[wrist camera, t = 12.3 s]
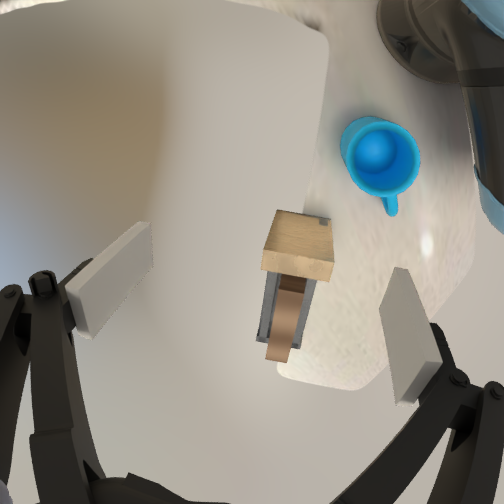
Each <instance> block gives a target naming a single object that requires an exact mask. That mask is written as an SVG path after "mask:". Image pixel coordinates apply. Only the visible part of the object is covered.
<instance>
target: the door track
mask: <svg viewBox="0 0 504 504" xmlns="http://www.w3.org/2000/svg"><path fill="white" fill-rule="evenodd" d="M333 266H334V251H333V239H332V229H331V219H327V218H322V217H316V216H311V215H305V214H300V213H294V212H289V211H283V210H277V211H276V214H275V217H274V220H273V223H272V226H271V229H270V232H269V235H268V238H267V241H266V243H265V246H264V249H263V256H262V264H261V270H266V271H268V273H267V280H266V286H265V292H264V299H263V305H262V312H261V318H260V324H259V329H258V333H257V337H256V341H258V342H263V343H269V337H270V332H271V327H272V322H273V317H274V311H275V306H276V301H277V295H278V290H279V285H280V280H281V275H282V274H287V275H293V276H298V277H304V278H306V281H305V292H304V298H303V302H302V306H301V310H300V314H299V318H298V322H297V326H296V330H295V334H294V337H293V341H292V345H291V348H295V349H300V347H301V343H302V334H303V331H304V327H305V324H306V320H307V316H308V313H309V309H310V305H311V301H312V297H313V294H314V290H315V286H316V282H317V280H320V281H326V282H329V281H330V277H331V274H332V270H333Z"/></svg>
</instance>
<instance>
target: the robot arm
mask: <svg viewBox="0 0 504 504" xmlns="http://www.w3.org/2000/svg"><path fill="white" fill-rule="evenodd" d="M377 24H378V29H379V32H380V35H381V37H382V40H383V42H384V44H385V46H386V47H387V49H388V50H389V52H390V53H391V54H392V56H393V57H394V58H395V59H396V60H397V61H398V62H399V63H400V64H401V65H402V66H403V67H404V68H405V69H407V70H408V71H409V72H411V73H412V74H414V75H416V76H418V77H420V78H422V79H424V80H427V81H430V82H434V83H442V84H448V83H459V82H460V85H461V90H462V94H463V98H464V103H465V107H466V112H467V117H468V122H469V128H470V133H471V139H472V146H473V152H474V160H475V164H474V173H475V176H476V179H477V181H478V186H479V194H480V202H481V206H482V209H483V211H484V213H485V214H486V215H487V218H488V219H489V221H490V222H491V224H492V225H493V226H494V227H495V228H496V229H497V230H499V231H500V232H501V233H502V234H504V0H380V1H379V4H378V8H377ZM152 267H153V255H152V236H151V223H148V222H142V221H138V222H137V223H136V224H135V225H134V226H132V227H131V228H130V229H129V230H128V231H126V232H125V233H124V234H123V235H121V236H120V237H119V238H118V239H117V240H115V241H114V242H113V243H112V244H111V245H110V246H108V247H107V248H106V249H105V250H104V251H103V252H101V253H100V254H99V255H98V256H97V257H96V258H95V259H93V258H90V259H88V260H86V261H84V262H82V263H81V264H80V265H79V266H78V267H77V268H76V269H74V270H73V271H72V272H71V273H70V274H69V275H68V276H66V277H65V278H64V279H63V280H62V281H61V282H60V283H59V284H57V281H56V277H55V274H54V273H53V272H52V271H48V270H46V271H45V270H44V271H40V272H37V273H35V274H33V275H32V276H31V277H30V278H29V280H28V283H29V286H30V289H31V292H32V295H28V294H23V291H22V288H21V286H19V285H16V284H13V285H8V286H6V287H4V288H3V289H2V290H1V291H0V504H13V503H12V499H11V497H10V496H9V491H8V489H7V483H8V478H9V474H10V468H11V461H12V452H13V444H14V437H15V430H16V424H17V418H18V412H19V407H20V402H21V397H22V392H23V388H24V384H25V379H26V375H27V371H28V367H29V363H30V371H31V394H32V409H33V419H34V429H35V430H34V431H35V432H34V434H31V435H30V437H29V443H30V451H31V457H32V464H33V470H34V475H35V481H36V485H37V490H38V495H39V499H40V502H39V503H37V504H229V503H218V502H193V501H188V500H185V499H183V498H182V497H180V496H178V495H176V494H174V493H173V492H171V491H170V490H168V489H166V488H165V487H163V486H161V485H160V484H158V483H155V482H153V481H150V480H147V479H144V478H142V477H139V476H136V475H134V474H131V473H128V475H127V477H126V478H119V477H111V478H106V476H105V473H104V472H103V469H102V468H101V465H100V463H99V460H98V457H97V454H96V450H95V447H94V443H93V439H92V435H91V431H90V427H89V424H88V419H87V415H86V410H85V405H84V401H83V397H82V391H81V385H80V380H79V374H78V368H77V361H76V354H75V347H74V339H73V334H72V330H73V329H74V327H75V326H76V327H77V331H78V334H79V336H82V337H84V338H87V339H90V340H93V339H94V337H95V336H96V335H97V334H98V332H99V331H100V330H101V329H102V327H103V326H104V325H105V323H106V322H107V321H108V320H109V319H110V317H111V316H112V315H113V314H114V312H115V311H116V310H117V309H118V307H119V306H120V305H121V304H122V302H123V301H124V300H125V299H126V298H127V296H128V295H129V294H130V293H131V292H132V290H133V289H134V288H135V287H136V286H137V285H138V283H139V282H140V281H141V280H142V279H143V277H144V276H145V275H146V274H147V273H148V272H149V270H150V269H151V268H152ZM379 311H380V316H381V321H382V326H383V331H384V336H385V341H386V347H387V352H388V358H389V364H390V369H391V376H392V382H393V389H394V396H395V404H396V406H408V407H412V405H413V404H414V403H415V401H416V400H417V399H418V400H419V405H420V406H419V407H418V408H417V410H416V411H415V412H414V413H413V415H412V416H411V417H410V418H409V420H408V421H407V423H406V424H405V425H404V426H403V428H402V429H401V430H400V431H399V432H398V434H397V435H396V436H395V437H394V438H393V440H392V441H391V442H390V443H389V444H388V445H387V446H386V448H385V449H384V450H383V451H382V452H381V453H380V454H379V456H378V457H377V458H376V459H375V460H374V461H373V462H372V463H371V464H370V465H369V466H368V467H367V468H366V469H365V470H364V471H363V472H362V473H361V474H360V475H359V476H358V477H357V478H356V479H355V481H353V482H352V483H351V484H350V485H349V486H348V487H347V488H346V489H345V490H344V491H343V492H342V493H341V494H340V495H339V496H337V497H336V498H335V499H334V500H333V501H332V502H331V503H330V504H393V503H394V502H395V501H396V500H397V498H398V497H399V496H400V495H401V493H402V492H403V491H404V490H405V489H406V487H407V486H408V485H409V483H410V482H411V481H412V479H413V478H414V477H415V476H416V474H417V473H418V472H419V470H420V469H421V467H422V466H423V465H424V463H425V462H426V460H427V459H428V457H429V456H430V454H431V453H432V451H433V450H434V448H435V447H436V445H437V444H438V442H439V441H440V439H441V438H442V436H443V434H444V433H445V431H446V429H447V428H451V429H452V431H451V435H450V438H449V441H448V445H447V448H446V452H445V455H444V458H443V461H442V464H441V467H440V470H439V473H438V476H437V479H436V481H435V484H434V487H433V489H432V492H431V495H430V497H429V499H428V502H427V504H493V501H494V497H495V492H496V488H497V483H498V478H499V473H500V468H501V462H502V455H503V448H504V387H503V386H502V385H501V384H500V383H498V382H494V381H490V382H488V383H487V384H486V385H485V386H484V388H481V387H478V386H475V385H473V384H470V380H469V378H468V376H467V375H466V374H465V373H464V372H463V371H462V370H460V369H458V368H456V366H455V363H454V360H453V357H452V354H451V351H450V348H449V347H448V343H447V341H446V338H445V336H444V333H443V331H442V330H441V328H440V327H439V326H438V325H437V324H436V323H429V321H428V318H427V316H426V313H425V310H424V308H423V305H422V303H421V300H420V298H419V295H418V293H417V290H416V288H415V285H414V283H413V280H412V278H411V276H410V273H409V271H408V269H403V268H398V267H395V268H394V271H393V274H392V276H391V279H390V282H389V284H388V287H387V290H386V292H385V295H384V298H383V300H382V303H381V305H380V308H379Z"/></svg>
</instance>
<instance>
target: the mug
mask: <svg viewBox="0 0 504 504" xmlns="http://www.w3.org/2000/svg"><path fill="white" fill-rule="evenodd" d="M340 149H341V156H342V158H343V160H344V162H345V165H346V167H347V169H348V171H349V173H350V176H351V178H352V180H353V181H354V182H355V183H356V184H357V186H358V187H359V188H360V189H361V190H363V191H365V192H367V193H368V194H370V195H374V196H378V197H381V199H382V202H383V205H384V208H385V210H386V213H387V214H388V215H389V216H391V217H392V216H395V215H396V214H397V212H398V201H397V194H399V193H402V192H404V191H405V190H406V189H407V188H408V187H409V186H411V185H412V183H413V182H414V180H415V178H416V177H417V175H418V171H419V167H420V151H419V149H418V146H417V144H416V141H415V139H414V138H413V137H412V136H411V135H410V133H409V132H408V131H407V130H405V129H404V128H402V127H401V126H399V125H398V124H395V123H392V122H390V121H387V120H384V119H380V118H376V117H362V118H359V119H357V120H355V121H353V122H352V123H351V124H350V125H349V126H348V127H347V128H346V129H345V131H344V133H343V135H342V138H341V143H340Z"/></svg>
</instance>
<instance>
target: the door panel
mask: <svg viewBox="0 0 504 504" xmlns="http://www.w3.org/2000/svg"><path fill="white" fill-rule="evenodd" d="M305 281H306V278H304V277H298V276H293V275H287V274H282V275H281V280H280V285H279V290H278V295H277V301H276V306H275V311H274V317H273V322H272V327H271V332H270V337H269V343H268V348H267V353H266V358H265V359H267V360H272V361H278V362H283V363H287V360H288V356H289V353H290V349H291V345H292V341H293V337H294V334H295V330H296V326H297V322H298V318H299V314H300V310H301V306H302V302H303V298H304V292H305Z"/></svg>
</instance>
